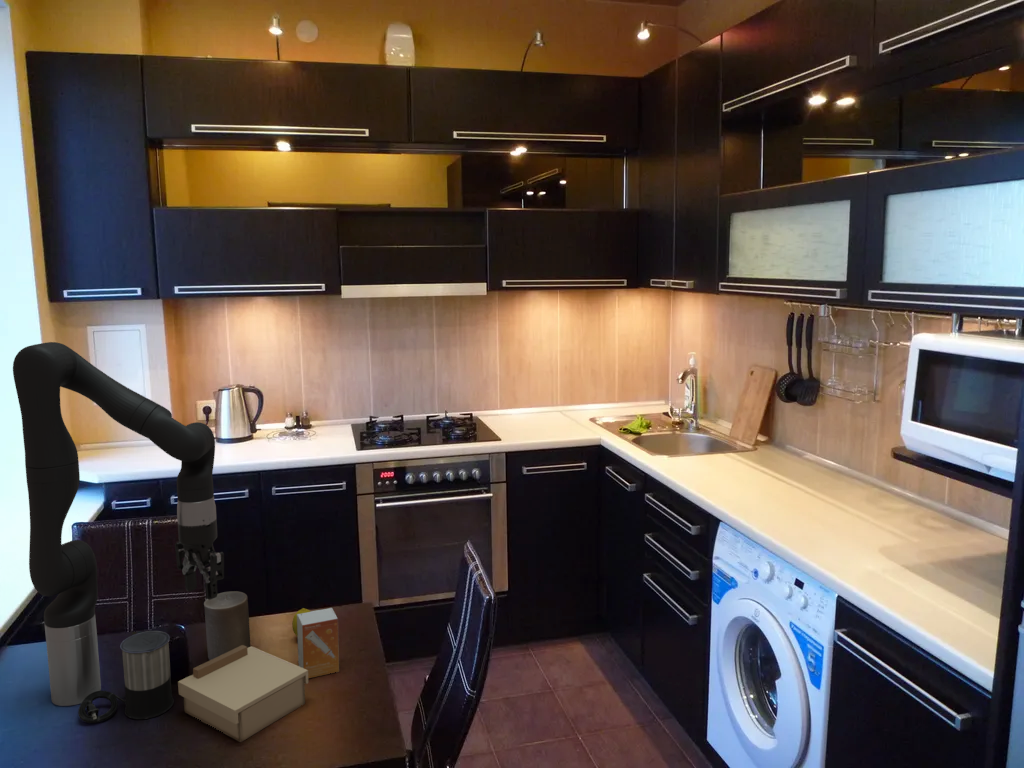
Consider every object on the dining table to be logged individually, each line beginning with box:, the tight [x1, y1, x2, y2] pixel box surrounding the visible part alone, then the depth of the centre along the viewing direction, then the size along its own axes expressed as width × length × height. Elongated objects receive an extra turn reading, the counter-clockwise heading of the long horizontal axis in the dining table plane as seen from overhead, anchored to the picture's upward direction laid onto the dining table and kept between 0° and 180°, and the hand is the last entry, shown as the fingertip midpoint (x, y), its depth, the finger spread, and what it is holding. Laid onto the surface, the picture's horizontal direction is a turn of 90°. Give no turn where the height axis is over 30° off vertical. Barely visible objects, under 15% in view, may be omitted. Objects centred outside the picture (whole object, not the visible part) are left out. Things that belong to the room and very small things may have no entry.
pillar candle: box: [203, 590, 251, 661], centre depth 178 cm, size 10×10×15 cm
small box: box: [297, 607, 340, 679], centre depth 171 cm, size 8×6×13 cm
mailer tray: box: [183, 676, 306, 743], centre depth 156 cm, size 18×16×6 cm
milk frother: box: [77, 630, 175, 724], centre depth 154 cm, size 14×16×15 cm
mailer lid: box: [177, 645, 309, 724], centre depth 156 cm, size 18×18×5 cm
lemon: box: [291, 607, 312, 637], centre depth 186 cm, size 6×6×8 cm
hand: (201, 593), depth 161 cm, fingers open, 6 cm apart
